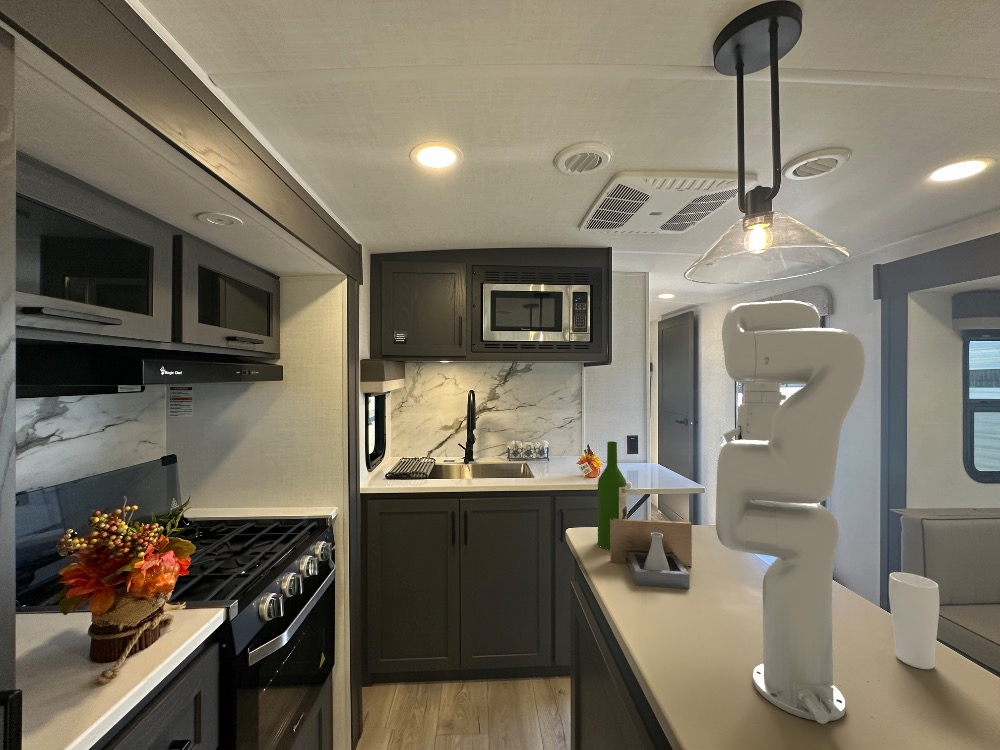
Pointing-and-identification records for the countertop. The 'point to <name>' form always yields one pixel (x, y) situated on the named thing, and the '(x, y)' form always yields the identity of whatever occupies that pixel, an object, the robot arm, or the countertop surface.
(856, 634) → the countertop surface
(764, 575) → the robot arm
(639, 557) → the cup bracket
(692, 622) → the countertop surface
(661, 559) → the flask
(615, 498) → the wine bottle
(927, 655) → the drinking glass
